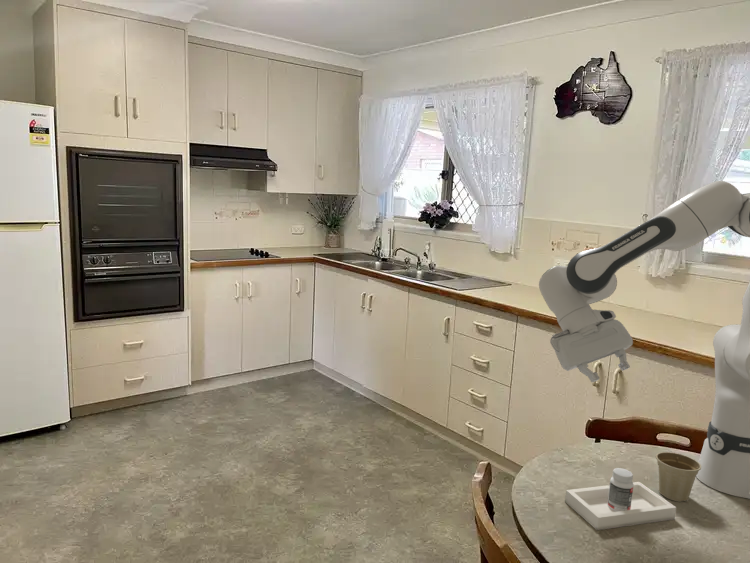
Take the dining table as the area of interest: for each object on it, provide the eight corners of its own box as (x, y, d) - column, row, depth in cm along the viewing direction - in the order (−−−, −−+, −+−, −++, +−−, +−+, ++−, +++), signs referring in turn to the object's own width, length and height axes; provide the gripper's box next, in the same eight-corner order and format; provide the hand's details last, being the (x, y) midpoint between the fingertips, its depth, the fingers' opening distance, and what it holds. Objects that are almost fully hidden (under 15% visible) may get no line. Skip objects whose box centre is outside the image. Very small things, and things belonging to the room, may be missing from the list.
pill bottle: (632, 515, 120) (637, 479, 119) (609, 511, 121) (614, 475, 120) (627, 503, 125) (632, 468, 124) (605, 500, 126) (609, 465, 125)
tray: (637, 492, 131) (639, 481, 131) (674, 519, 121) (676, 507, 120) (564, 501, 125) (566, 490, 125) (597, 530, 115) (598, 517, 115)
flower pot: (645, 482, 136) (649, 449, 135) (685, 486, 135) (690, 453, 134) (660, 503, 127) (665, 468, 126) (703, 508, 126) (709, 472, 125)
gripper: (552, 331, 133) (583, 383, 127) (618, 309, 140) (650, 357, 134) (541, 342, 138) (570, 392, 132) (605, 320, 145) (635, 367, 139)
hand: (611, 374), depth 133 cm, fingers open, 8 cm apart
